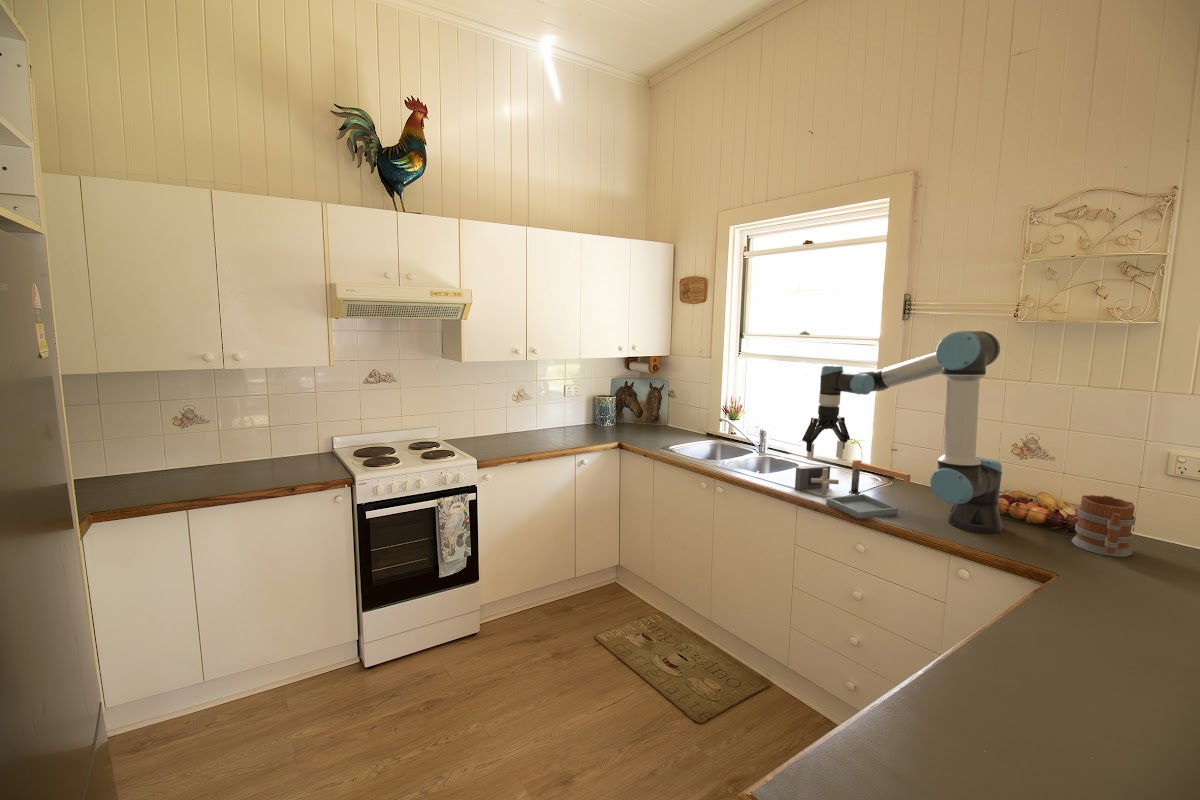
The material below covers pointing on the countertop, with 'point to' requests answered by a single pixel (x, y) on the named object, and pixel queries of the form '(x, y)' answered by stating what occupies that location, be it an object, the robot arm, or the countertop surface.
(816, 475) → the socket block
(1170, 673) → the countertop surface
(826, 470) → the pipe connector
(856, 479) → the post
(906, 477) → the tan bar handle
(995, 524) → the robot arm
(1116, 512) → the mug
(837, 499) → the tray
